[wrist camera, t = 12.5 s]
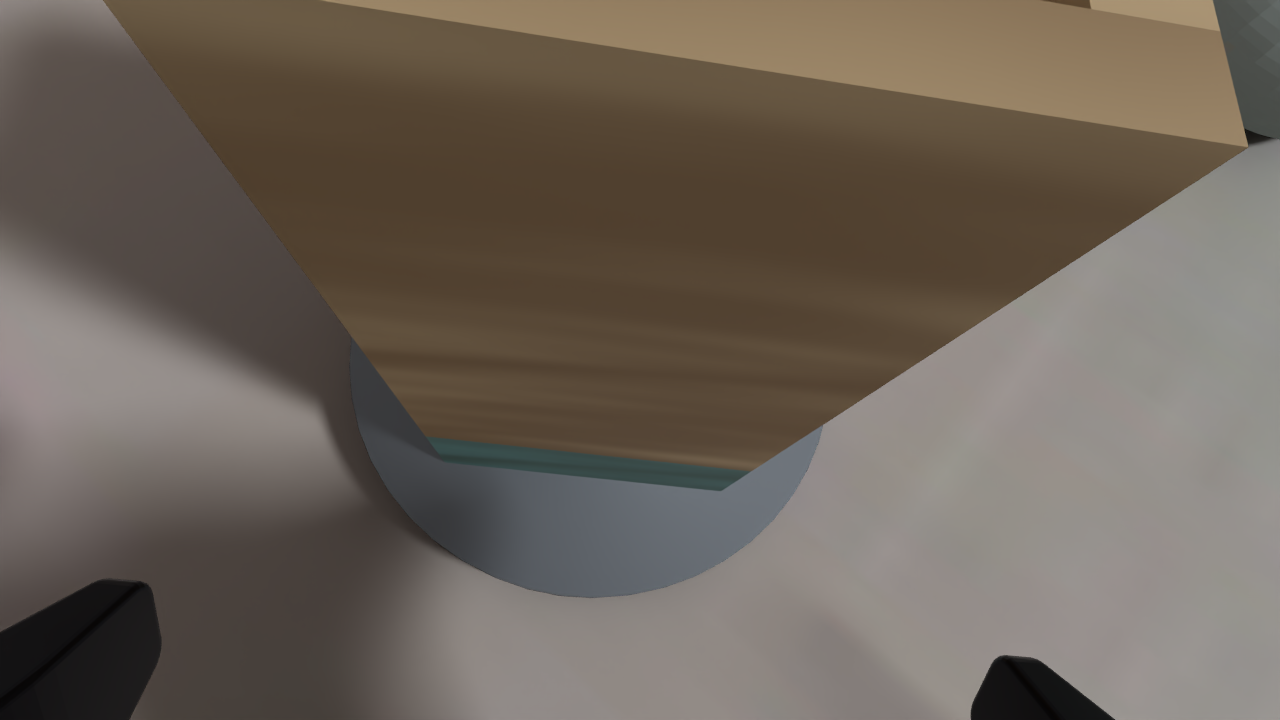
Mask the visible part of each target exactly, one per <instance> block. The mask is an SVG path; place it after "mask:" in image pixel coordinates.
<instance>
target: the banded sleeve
mask: <svg viewBox="0 0 1280 720" xmlns="http://www.w3.org/2000/svg"><path fill="white" fill-rule="evenodd" d="M103 1H104V2H105V4H106V5H107V6H108V8H109V9H110V10H111V12H112V13H113V14H114V16H115V17H116V18H117V20H118V21H119V23H120V24H121V25H122V27H123V28H124V29H125V31H126V32H127V33H128V35H129V36H130V37H131V39H132V40H133V41H134V43H135V44H136V46H137V47H138V48H139V50H140V51H141V52H142V54H143V55H144V56H145V58H146V59H147V60H148V62H149V63H150V64H151V66H152V67H153V69H154V70H155V71H156V73H157V74H158V75H159V77H160V78H161V79H162V81H163V82H164V83H165V85H166V86H167V87H168V89H169V90H170V92H171V93H172V94H173V96H174V97H175V98H176V100H177V101H178V102H179V104H180V105H181V106H182V108H183V109H184V110H185V112H186V113H187V114H188V116H189V117H190V119H191V120H192V121H193V123H194V124H195V125H196V127H197V128H198V129H199V131H200V132H201V133H202V135H203V136H204V137H205V139H206V140H207V142H208V143H209V144H210V146H211V147H212V148H213V150H214V151H215V152H216V154H217V155H218V156H219V158H220V159H221V160H222V162H223V163H224V165H225V166H226V167H227V169H228V170H229V171H230V173H231V174H232V175H233V177H234V178H235V179H236V181H237V182H238V183H239V185H240V186H241V188H242V189H243V190H244V192H245V193H246V194H247V196H248V197H249V198H250V200H251V201H252V202H253V204H254V205H255V206H256V208H257V209H258V211H259V212H260V213H261V215H262V216H263V217H264V219H265V220H266V221H267V223H268V224H269V225H270V227H271V228H272V229H273V231H274V232H275V234H276V235H277V236H278V238H279V239H280V240H281V242H282V243H283V244H284V246H285V247H286V248H287V250H288V251H289V252H290V254H291V255H292V257H293V258H294V259H295V261H296V262H297V263H298V265H299V266H300V267H301V269H302V270H303V271H304V273H305V274H306V275H307V277H308V278H309V280H310V281H311V282H312V284H313V285H314V286H315V288H316V289H317V290H318V292H319V293H320V294H321V296H322V297H323V298H324V300H325V301H326V303H327V304H328V305H329V307H330V308H331V309H332V311H333V312H334V313H335V315H336V316H337V317H338V319H339V320H340V321H341V323H342V324H343V326H344V327H345V328H346V330H347V331H348V332H349V334H350V335H351V336H352V338H353V339H354V340H355V342H356V343H357V344H358V346H359V347H360V349H361V350H362V351H363V353H364V354H365V355H366V357H367V358H368V359H369V361H370V362H371V363H372V365H373V366H374V367H375V369H376V370H377V372H378V373H379V374H380V376H381V377H382V378H383V380H384V381H385V382H386V384H387V385H388V386H389V388H390V389H391V390H392V392H393V393H394V395H395V396H396V397H397V399H398V400H399V401H400V403H401V404H402V405H403V407H404V408H405V409H406V411H407V412H408V413H409V415H410V416H411V418H412V419H413V420H414V422H415V423H416V424H417V426H418V427H419V428H420V430H421V431H422V432H423V434H424V435H425V436H426V438H427V439H428V441H429V442H430V443H431V445H432V446H433V447H434V449H435V450H436V451H437V453H438V454H439V455H440V457H441V458H442V459H443V461H444V462H445V463H455V464H464V465H474V466H483V467H493V468H503V469H512V470H522V471H531V472H541V473H550V474H560V475H569V476H579V477H589V478H598V479H608V480H617V481H627V482H636V483H646V484H655V485H665V486H674V487H684V488H694V489H703V490H713V491H722V490H724V489H725V488H727V487H728V486H730V485H731V484H733V483H734V482H736V481H738V480H739V479H741V478H742V477H744V476H745V475H747V474H748V473H750V472H751V471H753V470H754V469H756V468H757V467H759V466H761V465H762V464H764V463H765V462H767V461H768V460H770V459H771V458H773V457H774V456H776V455H777V454H779V453H780V452H782V451H784V450H785V449H787V448H788V447H790V446H791V445H793V444H794V443H796V442H797V441H799V440H800V439H802V438H803V437H805V436H807V435H808V434H810V433H811V432H813V431H814V430H816V429H817V428H819V427H820V426H822V425H823V424H825V423H826V422H828V421H830V420H831V419H833V418H834V417H836V416H837V415H839V414H840V413H842V412H843V411H845V410H846V409H848V408H849V407H851V406H853V405H854V404H856V403H857V402H859V401H860V400H862V399H863V398H865V397H866V396H868V395H869V394H871V393H872V392H874V391H876V390H877V389H879V388H880V387H882V386H883V385H885V384H886V383H888V382H889V381H891V380H892V379H894V378H895V377H897V376H899V375H900V374H902V373H903V372H905V371H906V370H908V369H909V368H911V367H912V366H914V365H915V364H917V363H918V362H920V361H922V360H923V359H925V358H926V357H928V356H929V355H931V354H932V353H934V352H935V351H937V350H938V349H940V348H942V347H943V346H945V345H946V344H948V343H949V342H951V341H952V340H954V339H955V338H957V337H958V336H960V335H961V334H963V333H965V332H966V331H968V330H969V329H971V328H972V327H974V326H975V325H977V324H978V323H980V322H981V321H983V320H984V319H986V318H988V317H989V316H991V315H992V314H994V313H995V312H997V311H998V310H1000V309H1001V308H1003V307H1004V306H1006V305H1007V304H1009V303H1011V302H1012V301H1014V300H1015V299H1017V298H1018V297H1020V296H1021V295H1023V294H1024V293H1026V292H1027V291H1029V290H1030V289H1032V288H1034V287H1035V286H1037V285H1038V284H1040V283H1041V282H1043V281H1044V280H1046V279H1047V278H1049V277H1050V276H1052V275H1053V274H1055V273H1057V272H1058V271H1060V270H1061V269H1063V268H1064V267H1066V266H1067V265H1069V264H1070V263H1072V262H1073V261H1075V260H1076V259H1078V258H1080V257H1081V256H1083V255H1084V254H1086V253H1087V252H1089V251H1090V250H1092V249H1093V248H1095V247H1096V246H1098V245H1099V244H1101V243H1103V242H1104V241H1106V240H1107V239H1109V238H1110V237H1112V236H1113V235H1115V234H1116V233H1118V232H1119V231H1121V230H1122V229H1124V228H1126V227H1127V226H1129V225H1130V224H1132V223H1133V222H1135V221H1136V220H1138V219H1139V218H1141V217H1142V216H1144V215H1145V214H1147V213H1149V212H1150V211H1152V210H1153V209H1155V208H1156V207H1158V206H1159V205H1161V204H1162V203H1164V202H1165V201H1167V200H1168V199H1170V198H1172V197H1173V196H1175V195H1176V194H1178V193H1179V192H1181V191H1182V190H1184V189H1185V188H1187V187H1188V186H1190V185H1191V184H1193V183H1195V182H1196V181H1198V180H1199V179H1201V178H1202V177H1204V176H1205V175H1207V174H1208V173H1210V172H1211V171H1213V170H1214V169H1216V168H1218V167H1219V166H1221V165H1222V164H1224V163H1225V162H1227V161H1228V160H1230V159H1231V158H1233V157H1234V156H1236V155H1237V154H1239V153H1241V152H1242V151H1244V150H1245V149H1247V148H1248V143H1247V139H1246V135H1245V131H1244V127H1243V122H1242V118H1241V114H1240V110H1239V106H1238V102H1237V98H1236V94H1235V90H1234V86H1233V81H1232V77H1231V73H1230V69H1229V65H1228V61H1227V57H1226V53H1225V49H1224V45H1223V40H1222V36H1221V32H1220V28H1219V24H1218V20H1217V16H1216V12H1215V8H1214V4H1213V0H103Z"/></svg>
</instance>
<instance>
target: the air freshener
mask: <svg viewBox="0 0 1280 720" xmlns="http://www.w3.org/2000/svg"><path fill="white" fill-rule="evenodd" d="M1213 4H1214V8H1215V12H1216V16H1217V20H1218V24H1219V28H1220V32H1221V36H1222V40H1223V45H1224V49H1225V53H1226V57H1227V61H1228V65H1229V69H1230V73H1231V77H1232V81H1233V86H1234V90H1235V94H1236V98H1237V102H1238V106H1239V110H1240V114H1241V118H1242V122H1243V127H1244V129H1247V130H1250V131H1252V132H1255V133H1258V134H1260V135H1264V136H1268V137H1272V138H1276V139H1280V0H1213Z"/></svg>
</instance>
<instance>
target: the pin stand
mask: <svg viewBox="0 0 1280 720" xmlns="http://www.w3.org/2000/svg"><path fill="white" fill-rule="evenodd" d="M349 368H350V381H351V393H352V401H353V405H354V410H355V414H356V418H357V423H358V427H359V431H360V433H361V436H362V439H363V441H364V444H365V446H366V449H367V451H368V454H369V456H370V459H371V461H372V463H373V465H374V466H375V468H376V470H377V472H378V473H379V475H380V477H381V479H382V480H383V482H384V484H385V486H386V487H387V489H388V490H389V492H390V493H391V494H392V496H393V497H394V498H395V499H396V501H397V502H398V503H399V505H400V506H401V507H402V508H403V510H404V511H405V512H406V514H407V515H408V516H409V517H410V518H411V519H412V520H413V521H414V522H415V523H416V524H417V525H418V526H419V527H420V528H422V529H423V530H424V531H425V532H426V533H427V534H428V535H429V536H430V537H431V538H432V539H433V540H434V541H436V542H437V543H439V544H440V545H441V546H443V547H444V548H446V549H447V550H448V551H450V552H451V553H452V554H454V555H455V556H457V557H458V558H459V559H461V560H463V561H464V562H466V563H468V564H470V565H472V566H474V567H476V568H478V569H480V570H482V571H484V572H486V573H487V574H489V575H491V576H493V577H495V578H498V579H500V580H503V581H506V582H509V583H512V584H514V585H517V586H520V587H523V588H526V589H529V590H534V591H539V592H544V593H549V594H553V595H558V596H571V597H586V598H597V597H611V596H624V595H632V594H637V593H641V592H646V591H651V590H655V589H660V588H664V587H667V586H670V585H672V584H675V583H678V582H681V581H683V580H686V579H689V578H692V577H694V576H697V575H699V574H700V573H702V572H704V571H706V570H708V569H710V568H712V567H714V566H715V565H717V564H719V563H721V562H723V561H725V560H726V559H728V558H729V557H730V556H732V555H733V554H734V553H736V552H737V551H739V550H740V549H741V548H743V547H744V546H745V545H747V544H748V543H750V542H751V541H752V540H753V539H754V538H755V537H756V536H757V535H758V534H759V533H760V532H761V531H762V530H763V529H764V528H765V527H766V526H767V525H769V524H770V523H771V522H772V521H773V520H774V519H775V517H776V516H777V515H778V513H779V512H780V511H781V510H782V508H783V507H784V506H785V504H786V503H787V502H788V501H789V499H790V498H791V497H792V495H793V494H794V492H795V490H796V489H797V487H798V485H799V483H800V482H801V480H802V478H803V476H804V475H805V473H806V471H807V469H808V467H809V465H810V462H811V460H812V457H813V455H814V452H815V450H816V447H817V445H818V442H819V439H820V435H821V431H822V427H823V425H822V426H820V427H819V428H817V429H816V430H814V431H813V432H811V433H810V434H808V435H807V436H805V437H803V438H802V439H800V440H799V441H797V442H796V443H794V444H793V445H791V446H790V447H788V448H787V449H785V450H784V451H782V452H780V453H779V454H777V455H776V456H774V457H773V458H771V459H770V460H768V461H767V462H765V463H764V464H762V465H761V466H759V467H757V468H756V469H754V470H753V471H751V472H750V473H748V474H747V475H745V476H744V477H742V478H741V479H739V480H738V481H736V482H734V483H733V484H731V485H730V486H728V487H727V488H725V489H724V490H722V491H713V490H703V489H694V488H684V487H674V486H665V485H655V484H646V483H636V482H627V481H617V480H608V479H598V478H589V477H579V476H569V475H560V474H550V473H541V472H531V471H522V470H512V469H503V468H493V467H483V466H474V465H464V464H455V463H445V462H444V461H443V459H442V458H441V457H440V455H439V454H438V453H437V451H436V450H435V449H434V447H433V446H432V445H431V443H430V442H429V441H428V439H427V438H426V436H425V435H424V434H423V432H422V431H421V430H420V428H419V427H418V426H417V424H416V423H415V422H414V420H413V419H412V418H411V416H410V415H409V413H408V412H407V411H406V409H405V408H404V407H403V405H402V404H401V403H400V401H399V400H398V399H397V397H396V396H395V395H394V393H393V392H392V390H391V389H390V388H389V386H388V385H387V384H386V382H385V381H384V380H383V378H382V377H381V376H380V374H379V373H378V372H377V370H376V369H375V367H374V366H373V365H372V363H371V362H370V361H369V359H368V358H367V357H366V355H365V354H364V353H363V351H362V350H361V349H360V347H359V346H358V344H357V343H356V342H355V340H354V339H353V338H352V336H351V351H350V366H349Z"/></svg>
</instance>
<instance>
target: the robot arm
mask: <svg viewBox="0 0 1280 720" xmlns="http://www.w3.org/2000/svg"><path fill="white" fill-rule="evenodd" d="M160 652H161V634H160V629H159V624H158V618H157V613H156V608H155V603H154V597H153V593H152V590H151V588H150V587H149V585H148V584H147V583H144V582H142V581H133V580H121V579H110V578H109V579H102V580H98V581H96V582H94V583H91V584H89V585H88V586H86V587H84V588H82V589H80V590H78V591H76V592H74V593H73V594H71V595H69V596H67V597H65V598H63V599H61V600H59V601H58V602H56V603H54V604H52V605H50V606H48V607H46V608H44V609H43V610H41V611H39V612H37V613H35V614H33V615H31V616H29V617H28V618H26V619H24V620H22V621H20V622H18V623H16V624H14V625H13V626H11V627H9V628H7V629H5V630H3V631H1V632H0V720H129V719H130V717H131V715H132V713H133V711H134V709H135V707H136V705H137V703H138V701H139V699H140V697H141V695H142V693H143V691H144V689H145V687H146V685H147V683H148V681H149V679H150V677H151V675H152V673H153V671H154V669H155V667H156V665H157V662H158V659H159V656H160ZM971 720H1115V719H1114V718H1112V717H1111V716H1110V715H1109V714H1107V713H1106V712H1105V711H1103V710H1102V709H1101V708H1100V707H1098V706H1097V705H1096V704H1095V703H1093V702H1092V701H1091V700H1090V699H1088V698H1087V697H1086V696H1084V695H1083V694H1082V693H1081V692H1079V691H1078V690H1077V689H1076V688H1074V687H1073V686H1072V685H1070V684H1069V683H1068V682H1067V681H1065V680H1064V679H1063V678H1062V677H1060V676H1059V675H1058V674H1057V673H1055V672H1054V671H1053V670H1051V669H1050V668H1049V667H1048V666H1046V665H1045V664H1044V663H1042V662H1041V661H1039V660H1037V659H1034V658H1031V657H1019V656H1008V655H1003V656H999V657H998V658H996V659H995V660H994V661H993V663H992V664H991V666H990V668H989V670H988V672H987V674H986V676H985V678H984V681H983V683H982V685H981V687H980V689H979V691H978V693H977V695H976V697H975V699H974V701H973V704H972V708H971Z"/></svg>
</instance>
